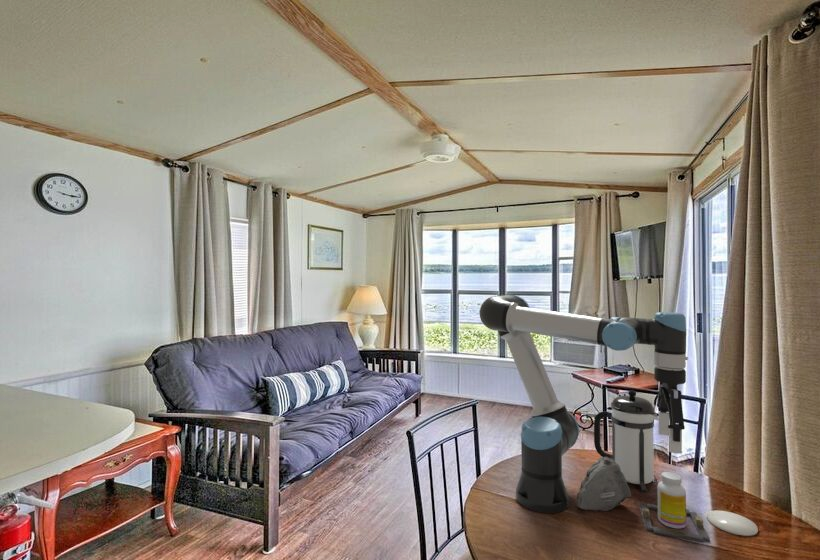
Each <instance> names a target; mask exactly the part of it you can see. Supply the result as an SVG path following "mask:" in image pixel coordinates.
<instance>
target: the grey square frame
mask: <svg viewBox="0 0 820 560" xmlns="http://www.w3.org/2000/svg"><path fill="white" fill-rule="evenodd" d="M638 508H639V511H640V513H641V517H642V520H643V524H644V527H645V530H646V531H650V532H652V533H653V534H657V535H663V536H668V537H673V538H680V539H684V540H690V541H694V542H700V543H701V542H702V543H703V542H704V541H705V542H711V541H710V539H711V538H710V536H709V535H708V532H707V531H706V529H705V527H704V525H705V524H704V518H702V516H698V514H697V513H696V512H695V511H690V510H689V509H686V517H688V516H689V517H690V519H691V520H692V523H693V524H694V525H693V526H694V527H695V528H696V530H697V533H698V534H696V533H692V532H691V533H690V532H684V531H680V530H673V529H669V528H668V529H667V528H662V527H656V526H653V525H652V521H651V518H650V510H653V511H657V512H658V504H653V503H647V502H645V503H638Z"/></svg>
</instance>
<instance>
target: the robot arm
mask: <svg viewBox="0 0 820 560" xmlns="http://www.w3.org/2000/svg"><path fill="white" fill-rule="evenodd" d="M479 318H480V321H481V323H482V324H483V325H484V327H486V328H487V329H489V330H491V331H496V332H498V336H499V337H500V339H501V340H504V341H505V342H506V344H507V346H508V348H509V351H510V354H511V357H512V359H513V361H514V364H515V366H516V369H517V370H518V374H519V376H520V379H521V381H522V384H523V386H524V387H523V388H524V389H525V391H526V392H525V393H526V394H527V396H528V399H529V402H530V404H531V406H532V411H531V413H530V417H529V418H527V419H526V420H524V422H523V423H522V424H521V431H520V439H521V441H520V443H521V446H520V449H521V473H520V475H519V479H518V482H517V485H516V487H515V499H516V501H517V502H518V503H519V504H520V505H521V506H523V507H524V508H526V509H528V510H531V511H534V512H538V513H542V514H543V513H544V514H556V513H560V512H564V510H565V511H566V509H568V506H569V494H568V492H567V491H568V490H567V488H566V486H565V481H564V480H563V470H562V469H563V467H562V466H563V464H562V463H563V460H562V459H563V455H564V454H566V453H567V452H568V451H569V450H570V448H572V447H573V446H574V445H575V444H576V443H577V441H578V438H579V435H580V426H579V423H578V421H577V419H576V418H575V416H574V415H573V414H572V413H570V412H569V411H568V409H567V406H566V405H565V403H563V402H562V401H560V400H558V398H557V397H558V396H557V395H556V394H557V393H555V389H554V388H553V387H554V386H553V385H552V382H551V380H550V378H549V376H548V373H547V371H546V368H545V366H544V363H543V361H542V358H541V356H540V354H539V351H538V348H537V346H536V345H535V342H534V340H533V337H532V334H535V335H542V336H547V337H554V338H557V339H558V338H559V339H563V340H571V341H576V342H581V343H588V344H593V345H599V346H602V347H603V346H604V347H608V349H611V350H612V351H626V350H629V349H631V348H632V347H633V346H634V345H648V346H653V347H654V350H653V351H654V355H653V356H654V358H653V359H654V360H653V365H654V366H655V367H654V368H653V369H654V370H653V371H654V375H653V376H654V377H653V379H654V380H655V381H657V382H658V383H659V388H658V395H657V400H656V401H657V402H656V407H657V410H658V420H657V421H658V425H657V426H658V430H657V431H658V432H657V433H658V435H661V436H668V437H669V442H668V443H669V446H668V449H669V451H668V452H669V453H672V454H680V455H682V453H683V450H682V449H683V445H682V444H683V430H685V428H686V427H685V426H686V425H685V421H684V413H683V403H682V391H681V390H679V389H678V385H684V384H685V383H687V381H686V380H687V371H686V363H687V362H686V361H688V360H689V357H688V356H686V355H687V322H686V321H687V320H686V316H685V315H684V314H683V313H680V312H671V311H670V312H669V311H668V312H667V311H666V312H665V311H662V312H661V311H659V312H656V313H655V314H654V317H653V318H642V317H641V318H638V317H626V316H612V317H610V318H603V317H602V318H601V317H595V316H587V315H580V314H574V313H567V312H561V311H560V312H559V311H554V310H553V311H552V310H545V309H540V308H532V307H530V305H529V304H528V302H527V301H526V300H525V299H524V298H523V297H521V296H518V295H515V294H506V295H493V296H490V297H488V298H487V299H485V300H484V301H483V302H482V303H481V305H480V308H479Z"/></svg>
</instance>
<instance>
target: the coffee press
mask: <svg viewBox="0 0 820 560" xmlns="http://www.w3.org/2000/svg"><path fill="white" fill-rule="evenodd" d="M627 394H628V395H619V396H616V397H615V398H613V400H612V402H611V403H610V407H611V412H610V411H600V412H598V413H597V414H596V415H595V418H594V422H593V440H594V441H593V442H594V448H595V450H596V452H597V454H598V455H600V456H601V458H602V457H608V458H612V459H613V460H614V461H615V462H616V463H617V464H618V465H619V466H620V469H621V472H622V473H623V474H624V476H625V479H626V482H627V483H629V484H630V483H631V484H635V485H637V487H638V489H639V491H640V492H643V493H645V492H647V487H646V484H649V483H651V482H653V483H657V482H658V478H657V477H656V476H655V472H654V471H655V470H654V467H655V465H654V464H655V462H654V459H655V458H654V457H655V453H654V448H655V447H654V443H655V442H654V428H655V421H658V419H659V415H657V413H656V408H655V407H654V406H653V404H652V403H651V402H650V401H649V400H647V399H645V398H643V397H640V396H637V393H636V391H635V390H633V389H632V390H631V389H630V390H629V391H628V392H627ZM602 418H611V419H610V420H611V426H612V427H611V430H612V431H611V432H612V433H611V441H612V442H611V443H612V447H611V448H612V453H608V452H606V451H604V450H603V448H602V446H601V421H602Z"/></svg>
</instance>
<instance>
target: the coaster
mask: <svg viewBox="0 0 820 560" xmlns="http://www.w3.org/2000/svg"><path fill="white" fill-rule="evenodd" d="M706 520H707V521H708V522H709V524H711V525H712V526H713V527H715V528H717V529H719V530H721V531H724V532H726V533H728V534H732V535H736V536H743V537H753V536H755V535H757V534H758V532H759V529H758V526H757V525H756V523H754V521H752V520H750V519H749V518H747V517H745V516H744V515H741V514H737V513H735V512H730V511H728V510H727V511H726V510H716V509H715V510H710V511H708V512H707V513H706Z"/></svg>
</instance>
